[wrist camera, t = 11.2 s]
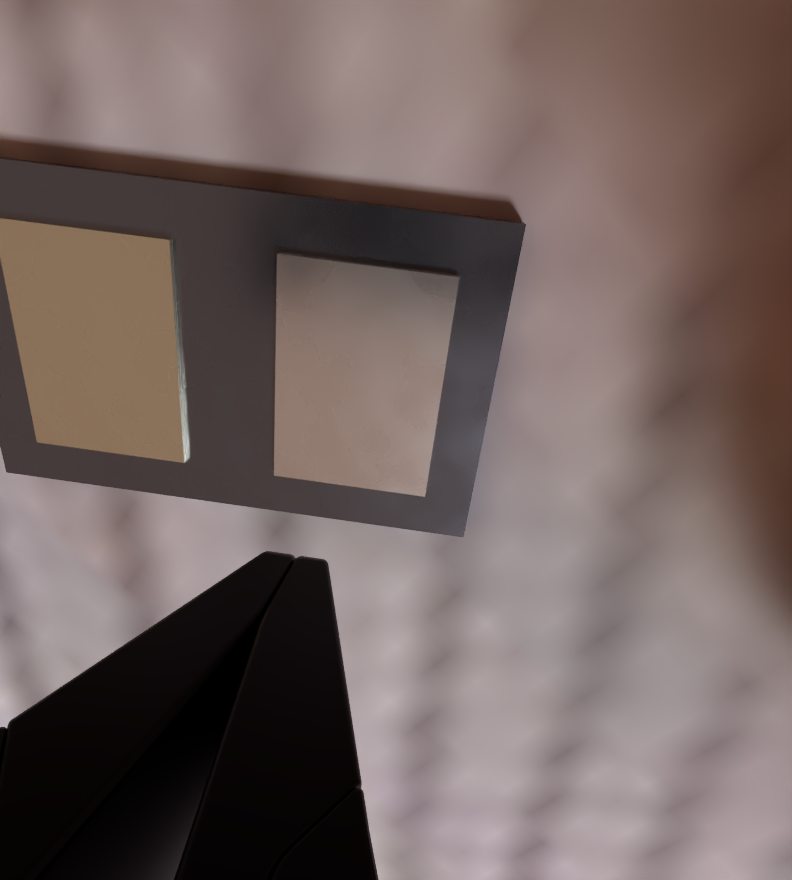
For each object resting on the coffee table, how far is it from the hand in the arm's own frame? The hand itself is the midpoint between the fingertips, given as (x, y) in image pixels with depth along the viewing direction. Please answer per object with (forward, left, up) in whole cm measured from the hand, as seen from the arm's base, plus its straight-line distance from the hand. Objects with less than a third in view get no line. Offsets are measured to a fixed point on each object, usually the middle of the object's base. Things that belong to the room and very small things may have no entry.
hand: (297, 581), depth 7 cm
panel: (-1, +5, -11) cm, 12 cm away
